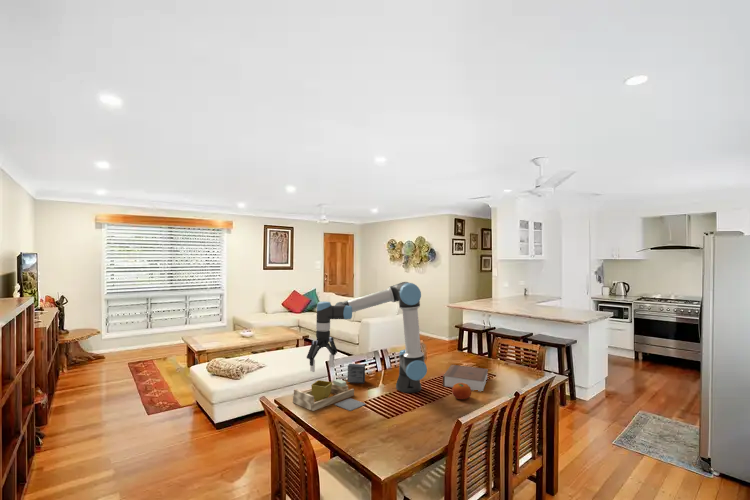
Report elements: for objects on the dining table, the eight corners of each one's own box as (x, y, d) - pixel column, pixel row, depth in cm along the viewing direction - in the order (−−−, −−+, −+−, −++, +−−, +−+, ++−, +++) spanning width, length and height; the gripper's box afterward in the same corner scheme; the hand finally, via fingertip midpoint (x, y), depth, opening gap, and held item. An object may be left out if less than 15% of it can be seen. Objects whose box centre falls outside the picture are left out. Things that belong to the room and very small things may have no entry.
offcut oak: (348, 389, 217) (348, 385, 217) (343, 391, 213) (344, 387, 213) (334, 386, 222) (334, 381, 222) (330, 388, 219) (330, 383, 219)
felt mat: (366, 404, 202) (366, 403, 202) (350, 411, 193) (350, 410, 193) (349, 398, 210) (349, 397, 210) (334, 404, 201) (334, 404, 201)
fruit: (458, 393, 222) (459, 379, 222) (474, 398, 214) (474, 384, 214) (448, 398, 214) (448, 383, 214) (464, 403, 207) (464, 388, 207)
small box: (365, 380, 241) (365, 364, 242) (363, 384, 235) (364, 367, 235) (348, 379, 242) (349, 363, 243) (347, 383, 236) (347, 366, 236)
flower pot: (332, 398, 210) (332, 381, 210) (325, 403, 202) (325, 387, 202) (318, 396, 213) (318, 379, 213) (310, 401, 205) (310, 384, 205)
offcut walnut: (349, 396, 215) (349, 390, 215) (344, 397, 212) (344, 392, 212) (334, 391, 223) (334, 385, 223) (329, 392, 220) (329, 387, 220)
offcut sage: (346, 385, 217) (346, 381, 217) (341, 386, 214) (341, 383, 214) (338, 382, 222) (338, 378, 222) (333, 383, 219) (333, 380, 219)
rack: (354, 395, 215) (354, 383, 215) (312, 411, 192) (313, 397, 192) (334, 388, 226) (334, 376, 226) (292, 402, 203) (293, 389, 203)
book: (442, 386, 234) (442, 376, 234) (451, 374, 260) (451, 364, 260) (483, 392, 225) (483, 381, 225) (488, 379, 251) (488, 369, 251)
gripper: (335, 326, 220) (334, 362, 220) (300, 332, 201) (299, 372, 201) (344, 328, 215) (343, 365, 215) (309, 334, 197) (308, 375, 196)
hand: (322, 368), depth 208 cm, fingers open, 13 cm apart
